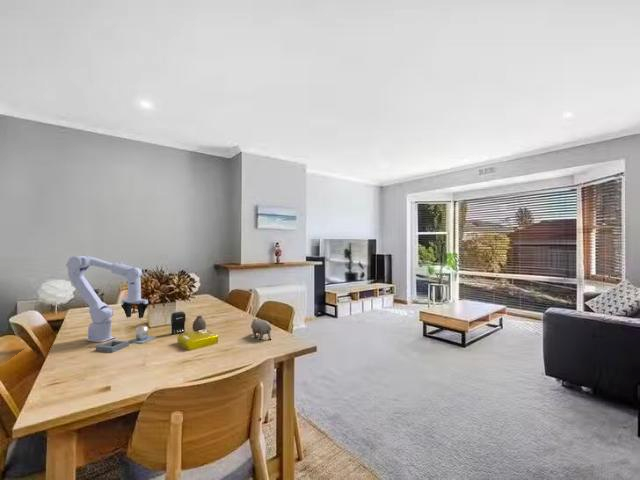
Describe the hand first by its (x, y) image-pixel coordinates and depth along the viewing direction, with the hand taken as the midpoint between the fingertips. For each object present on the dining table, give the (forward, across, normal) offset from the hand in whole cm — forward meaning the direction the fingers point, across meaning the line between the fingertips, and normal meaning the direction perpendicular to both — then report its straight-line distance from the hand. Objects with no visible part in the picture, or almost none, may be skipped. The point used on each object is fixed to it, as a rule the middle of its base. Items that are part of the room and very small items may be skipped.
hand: (134, 317), depth 157 cm
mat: (+10, +6, -2) cm, 13 cm away
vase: (+11, +26, +16) cm, 33 cm away
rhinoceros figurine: (+12, +62, +16) cm, 65 cm away
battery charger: (+11, +16, +12) cm, 23 cm away
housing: (+10, +2, -15) cm, 19 cm away
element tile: (+12, +36, 0) cm, 38 cm away
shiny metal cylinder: (+10, +6, -2) cm, 12 cm away
